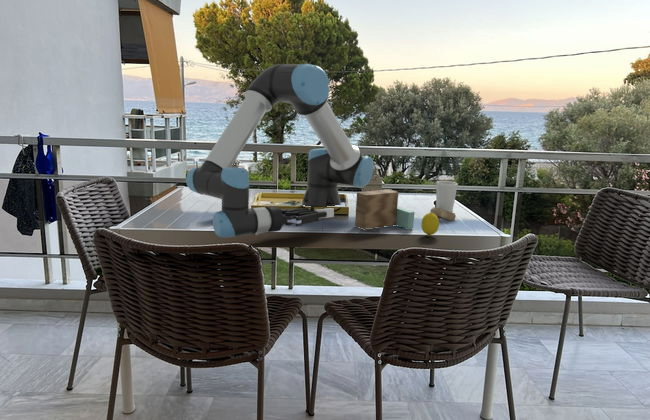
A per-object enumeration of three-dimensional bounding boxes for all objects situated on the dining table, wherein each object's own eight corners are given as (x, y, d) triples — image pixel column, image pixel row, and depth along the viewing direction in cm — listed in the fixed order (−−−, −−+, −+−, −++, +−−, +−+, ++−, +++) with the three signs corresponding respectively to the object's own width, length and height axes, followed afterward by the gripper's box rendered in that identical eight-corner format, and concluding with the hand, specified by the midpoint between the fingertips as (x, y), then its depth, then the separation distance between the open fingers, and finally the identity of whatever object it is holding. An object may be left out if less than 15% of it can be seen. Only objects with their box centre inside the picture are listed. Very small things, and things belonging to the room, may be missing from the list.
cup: (454, 216, 189) (458, 185, 186) (433, 214, 190) (436, 183, 187) (453, 211, 196) (457, 181, 193) (433, 210, 198) (436, 180, 195)
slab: (363, 230, 165) (366, 195, 162) (354, 226, 169) (356, 192, 166) (395, 225, 172) (398, 192, 169) (386, 222, 176) (388, 189, 173)
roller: (452, 222, 183) (456, 216, 184) (448, 217, 182) (453, 211, 182) (433, 216, 191) (437, 209, 192) (429, 211, 190) (433, 205, 190)
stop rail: (407, 229, 168) (408, 212, 166) (378, 218, 181) (379, 202, 179) (413, 228, 169) (414, 211, 167) (383, 217, 182) (384, 201, 180)
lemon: (418, 233, 164) (420, 210, 162) (434, 233, 164) (437, 210, 162) (423, 238, 158) (425, 214, 156) (439, 238, 159) (442, 214, 157)
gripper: (256, 226, 153) (321, 218, 165) (276, 237, 142) (343, 228, 155) (256, 202, 151) (322, 196, 163) (276, 212, 140) (344, 205, 153)
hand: (332, 212), depth 159 cm, fingers closed
